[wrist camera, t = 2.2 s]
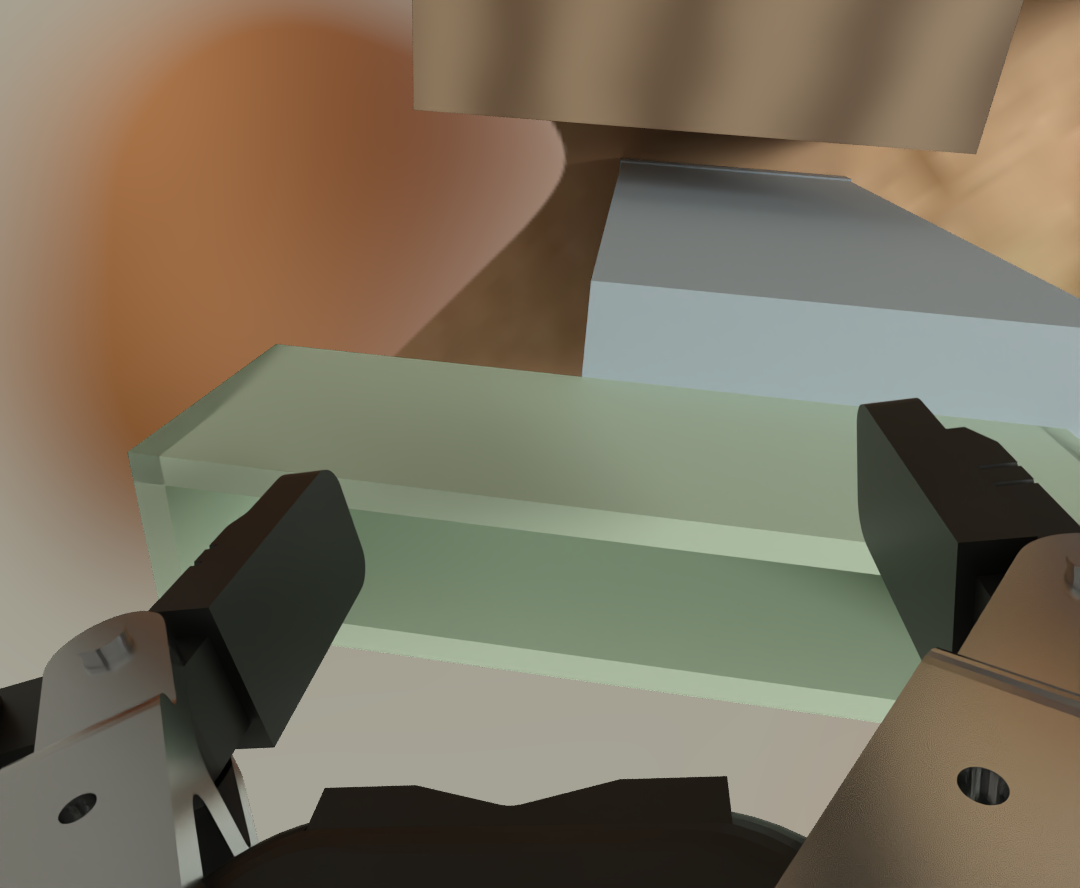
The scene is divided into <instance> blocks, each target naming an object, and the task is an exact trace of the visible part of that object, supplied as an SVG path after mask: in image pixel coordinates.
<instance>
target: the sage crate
mask: <svg viewBox="0 0 1080 888" xmlns="http://www.w3.org/2000/svg"><path fill="white" fill-rule="evenodd" d="M858 408H859V407H858V406H849V405H840V404H830V403H821V402H812V401H802V400H793V399H784V398H774V397H765V396H756V395H747V394H737V393H728V392H719V391H709V390H700V389H691V388H681V387H672V386H663V385H653V384H644V383H635V382H625V381H616V380H607V379H597V378H588V377H579V376H569V375H560V374H551V373H542V372H532V371H523V370H514V369H504V368H495V367H486V366H476V365H467V364H458V363H448V362H439V361H430V360H420V359H411V358H402V357H392V356H383V355H374V354H364V353H355V352H346V351H336V350H326V349H318V348H309V347H299V346H290V345H281V344H276V345H274V346H273V347H271V348H270V349H269V350H267V351H266V352H264V353H263V354H262V355H260V356H259V357H258V358H256V359H255V360H254V361H252V362H251V363H249V364H248V365H247V366H245V367H244V368H243V369H241V370H240V371H238V372H237V373H236V374H234V375H233V376H232V377H230V378H229V379H227V380H226V381H225V382H223V383H222V384H221V385H219V386H218V387H217V388H215V389H214V390H212V391H211V392H210V393H208V394H207V395H205V396H204V397H203V398H202V399H200V400H199V401H197V402H196V403H194V404H193V405H192V406H191V407H189V408H188V409H186V410H185V411H184V412H182V413H181V414H179V415H178V416H177V417H175V418H174V419H172V420H171V421H170V422H169V423H167V424H166V425H164V426H163V427H161V428H160V429H159V430H157V431H156V432H155V433H153V434H152V435H151V436H149V437H148V438H146V439H145V440H144V441H142V442H141V443H140V444H138V445H137V446H135V447H134V448H133V449H131V450H130V451H129V452H128V457H129V462H130V467H131V471H132V477H133V481H134V486H135V491H136V495H137V500H138V505H139V510H140V514H141V519H142V524H143V529H144V533H145V538H146V543H147V548H148V552H149V557H150V561H151V567H152V571H153V576H154V580H155V585H156V590H157V595H158V600H159V599H160V598H161V597H162V596H163V594H164V593H165V592H166V591H167V590H168V589H169V588H170V587H171V586H172V585H173V584H174V583H175V582H176V581H177V579H178V578H179V577H180V576H181V575H182V574H183V573H184V572H185V571H186V570H187V569H188V568H189V567H190V566H194V561H195V560H196V559H197V558H198V557H199V556H200V555H201V554H202V553H203V551H204V550H205V549H209V548H210V547H209V545H210V544H211V543H212V542H213V541H214V540H215V539H216V537H217V536H218V535H219V534H220V533H221V532H222V531H223V530H224V529H225V528H226V527H227V526H228V525H229V524H231V523H232V522H234V521H235V520H237V519H238V518H240V517H241V516H243V515H244V514H246V513H247V512H248V511H249V510H250V509H251V508H252V506H253V505H254V504H255V503H256V502H257V501H258V500H259V499H260V498H261V497H262V496H263V494H264V493H265V492H266V491H267V490H268V489H269V488H270V487H271V486H272V485H273V483H274V482H275V481H276V480H277V479H278V478H279V477H280V476H282V475H285V474H293V473H302V472H310V471H318V470H330V471H331V472H333V473H334V474H335V476H336V477H337V479H338V481H339V483H340V485H341V488H342V491H343V494H344V497H345V500H346V503H347V505H348V508H349V511H350V514H351V517H352V520H353V523H354V526H355V529H356V531H357V534H358V537H359V540H360V543H361V546H362V549H363V552H364V557H365V579H364V584H363V587H362V589H361V591H360V593H359V595H358V596H357V598H356V600H355V602H354V604H353V606H352V607H351V609H350V611H349V613H348V615H347V616H346V618H345V620H344V622H343V624H342V625H341V627H340V629H339V631H338V633H337V635H336V636H335V638H334V640H333V642H332V644H331V645H333V646H340V647H347V648H354V649H361V650H368V651H375V652H382V653H389V654H397V655H403V656H410V657H418V658H425V659H432V660H439V661H446V662H453V663H460V664H467V665H475V666H481V667H489V668H496V669H503V670H510V671H517V672H524V673H531V674H538V675H545V676H552V677H559V678H566V679H574V680H581V681H587V682H594V683H602V684H609V685H616V686H623V687H630V688H637V689H644V690H652V691H658V692H665V693H672V694H680V695H686V696H694V697H701V698H709V699H715V700H722V701H729V702H736V703H744V704H750V705H758V706H764V707H772V708H779V709H786V710H793V711H801V712H807V713H814V714H821V715H828V716H835V717H842V718H849V719H856V720H864V721H871V722H878V723H882V721H883V719H884V718H885V716H886V715H887V713H888V712H889V710H890V709H891V707H892V706H893V704H894V702H895V701H896V699H897V698H898V696H899V695H900V693H901V692H902V690H903V689H904V687H905V685H906V684H907V682H908V681H909V679H910V678H911V676H912V675H913V673H914V672H915V670H916V668H917V667H918V665H919V664H920V662H921V661H922V660H921V658H920V656H919V654H918V652H917V650H916V648H915V646H914V644H913V642H912V640H911V637H910V635H909V633H908V631H907V629H906V627H905V625H904V623H903V621H902V619H901V616H900V614H899V612H898V610H897V608H896V606H895V604H894V602H893V600H892V598H891V596H890V593H889V591H888V589H887V587H886V585H885V583H884V581H883V579H882V577H881V575H880V573H879V570H878V568H877V566H876V564H875V562H874V560H873V558H872V556H871V554H870V552H869V550H868V547H867V545H866V543H865V540H864V537H863V533H862V529H861V525H860V519H859V512H858V490H857V412H858ZM934 416H935V417H936V418H937V419H938V420H939V422H940V423H941V424H942V425H943V426H944V427H945V428H946V429H949V428H958V427H966V428H968V429H971V430H973V431H975V432H977V433H979V434H982V435H984V436H986V437H988V438H991V439H993V440H995V441H997V442H999V443H1000V444H1001V445H1002V446H1003V448H1004V449H1005V450H1006V451H1007V452H1008V453H1009V454H1010V455H1011V456H1012V457H1013V458H1014V459H1015V460H1016V461H1017V464H1018V466H1022V467H1023V468H1024V469H1025V470H1026V471H1027V472H1028V473H1029V474H1030V475H1031V476H1032V477H1033V478H1034V483H1039V484H1040V485H1041V486H1042V487H1043V489H1044V490H1045V491H1046V492H1047V493H1048V494H1049V495H1050V496H1051V497H1052V498H1053V499H1054V500H1055V501H1056V502H1057V503H1058V504H1059V505H1060V506H1061V507H1062V508H1063V509H1064V510H1065V511H1066V512H1067V513H1068V514H1069V515H1070V516H1071V517H1072V518H1073V519H1074V520H1075V521H1076V522H1077V523H1078V524H1079V525H1080V440H1079V439H1078V438H1077V437H1076V436H1074V435H1073V434H1072V433H1071V432H1070V431H1068V430H1067V429H1063V428H1054V427H1045V426H1035V425H1026V424H1017V423H1007V422H998V421H989V420H979V419H970V418H961V417H952V416H942V415H934Z"/></svg>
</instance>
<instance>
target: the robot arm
mask: <svg viewBox="0 0 1080 888" xmlns="http://www.w3.org/2000/svg"><path fill="white" fill-rule="evenodd" d="M857 490H858V512H859V519H860V525H861V529H862V533H863V537H864V540H865V543H866V545H867V547H868V550H869V552H870V554H871V556H872V558H873V560H874V562H875V564H876V566H877V568H878V570H879V573H880V575H881V577H882V579H883V581H884V583H885V585H886V587H887V589H888V591H889V593H890V596H891V598H892V600H893V602H894V604H895V606H896V608H897V610H898V612H899V614H900V616H901V619H902V621H903V623H904V625H905V627H906V629H907V631H908V633H909V635H910V637H911V640H912V642H913V644H914V646H915V648H916V650H917V652H918V654H919V656H920V658H921V660H922V661H921V662H920V664H919V665H918V667H917V668H916V670H915V672H914V673H913V675H912V676H911V678H910V679H909V681H908V682H907V684H906V685H905V687H904V689H903V690H902V692H901V693H900V695H899V696H898V698H897V699H896V701H895V702H894V704H893V706H892V707H891V709H890V710H889V712H888V713H887V715H886V716H885V718H884V719H883V721H882V723H881V724H880V726H879V727H878V729H877V730H876V732H875V733H874V735H873V737H872V738H871V740H870V741H869V743H868V744H867V746H866V748H865V749H864V750H863V752H862V754H861V755H860V757H859V758H858V760H857V761H856V763H855V764H854V766H853V768H852V769H851V771H850V772H849V774H848V775H847V777H846V778H845V780H844V782H843V783H842V784H841V786H840V788H839V789H838V791H837V792H836V794H835V795H834V797H833V798H832V800H831V801H830V803H829V805H828V806H827V808H826V809H825V811H824V812H823V814H822V815H821V817H820V819H819V820H818V822H817V823H816V825H815V826H814V828H813V829H812V831H811V833H810V834H809V836H808V837H807V838H806V837H804V836H802V835H800V834H797V833H795V832H793V831H791V830H789V829H787V828H784V827H782V826H780V825H777V824H774V823H771V822H768V821H765V820H762V819H759V818H756V817H752V816H748V815H744V814H739V813H735V812H731V806H730V798H729V789H728V782H727V776H722V777H687V778H652V779H620V780H616V781H612V782H608V783H604V784H600V785H596V786H592V787H589V788H584V789H580V790H576V791H572V792H569V793H564V794H561V795H557V796H553V797H549V798H545V799H541V800H537V801H534V802H529V803H525V804H521V805H515V806H505V805H498V804H494V803H490V802H486V801H481V800H477V799H473V798H468V797H464V796H459V795H455V794H451V793H447V792H442V791H438V790H434V789H429V788H425V787H421V786H416V785H411V786H381V787H380V786H378V787H344V788H325V789H324V791H323V793H322V796H321V798H320V800H319V802H318V804H317V807H316V809H315V811H314V813H313V816H312V818H311V820H310V822H309V823H307V824H304V825H301V826H298V827H295V828H292V829H289V830H287V831H284V832H281V833H279V834H277V835H274V836H272V837H270V838H268V839H266V840H264V841H262V842H260V843H259V841H258V837H257V833H256V829H255V825H254V821H253V818H252V813H251V809H250V805H249V801H248V797H247V793H246V789H245V784H244V780H243V776H242V774H241V771H240V769H239V767H238V765H237V763H236V761H235V759H234V757H233V755H232V754H233V752H234V750H235V749H248V748H270V747H275V745H276V743H277V741H278V740H279V738H280V736H281V734H282V732H283V731H284V729H285V727H286V725H287V723H288V721H289V720H290V718H291V716H292V714H293V712H294V711H295V709H296V707H297V705H298V703H299V702H300V700H301V698H302V696H303V694H304V692H305V691H306V689H307V687H308V685H309V683H310V681H311V680H312V678H313V676H314V674H315V673H316V671H317V669H318V667H319V665H320V664H321V662H322V660H323V658H324V656H325V654H326V653H327V651H328V649H329V647H330V645H331V644H332V642H333V640H334V638H335V636H336V635H337V633H338V631H339V629H340V627H341V625H342V624H343V622H344V620H345V618H346V616H347V615H348V613H349V611H350V609H351V607H352V606H353V604H354V602H355V600H356V598H357V596H358V595H359V593H360V591H361V589H362V587H363V584H364V579H365V557H364V552H363V549H362V546H361V543H360V540H359V537H358V534H357V531H356V529H355V526H354V523H353V520H352V517H351V514H350V511H349V508H348V505H347V503H346V500H345V497H344V494H343V491H342V488H341V485H340V483H339V481H338V479H337V477H336V476H335V474H334V473H333V472H331V471H330V470H318V471H310V472H302V473H293V474H285V475H282V476H280V477H279V478H278V479H277V480H276V481H275V482H274V483H273V485H272V486H271V487H270V488H269V489H268V490H267V491H266V492H265V493H264V494H263V496H262V497H261V498H260V499H259V500H258V501H257V502H256V503H255V504H254V505H253V506H252V508H251V509H250V510H249V511H248V512H247V513H246V514H244V515H243V516H241V517H240V518H238V519H237V520H235V521H234V522H232V523H231V524H229V525H228V526H227V527H226V528H225V529H224V530H223V531H222V532H221V533H220V534H219V535H218V536H217V537H216V539H215V540H214V541H213V542H212V543H211V544H210V545H209V547H210V548H209V549H205V550H204V551H203V553H202V554H201V555H200V556H199V557H198V558H197V559H196V560H195V561H194V566H190V567H189V568H188V569H187V570H186V571H185V572H184V573H183V574H182V575H181V576H180V577H179V578H178V579H177V581H176V582H175V583H174V584H173V585H172V586H171V587H170V588H169V589H168V590H167V591H166V592H165V593H164V594H163V596H162V597H161V598H160V599H159V600H158V601H157V602H156V603H155V604H154V605H153V606H152V607H151V608H150V610H149V611H137V612H131V613H127V614H122V615H119V616H116V617H113V618H110V619H108V620H105V621H103V622H101V623H99V624H97V625H95V626H93V627H91V628H89V629H87V630H85V631H84V632H82V633H80V634H79V635H77V636H76V637H75V638H73V639H72V640H70V641H69V642H68V643H66V644H65V645H64V646H63V647H62V648H60V649H59V650H58V651H57V652H56V653H55V655H53V657H52V658H51V660H50V661H49V662H48V664H47V665H46V667H45V670H44V674H43V677H40V678H36V679H33V680H29V681H26V682H22V683H19V684H15V685H12V686H8V687H5V688H1V689H0V888H1080V525H1079V524H1078V523H1077V522H1076V521H1075V520H1074V519H1073V518H1072V517H1071V516H1070V515H1069V514H1068V513H1067V512H1066V511H1065V510H1064V509H1063V508H1062V507H1061V506H1060V505H1059V504H1058V503H1057V502H1056V501H1055V500H1054V499H1053V498H1052V497H1051V496H1050V495H1049V494H1048V493H1047V492H1046V491H1045V490H1044V489H1043V487H1042V486H1041V485H1040V484H1039V483H1034V478H1033V477H1032V476H1031V475H1030V474H1029V473H1028V472H1027V471H1026V470H1025V469H1024V468H1023V467H1022V466H1018V464H1017V461H1016V460H1015V459H1014V458H1013V457H1012V456H1011V455H1010V454H1009V453H1008V452H1007V451H1006V450H1005V449H1004V448H1003V446H1002V445H1001V444H1000V443H999V442H997V441H995V440H993V439H991V438H988V437H986V436H984V435H982V434H979V433H977V432H975V431H973V430H971V429H968V428H966V427H958V428H949V429H946V428H945V427H944V426H943V425H942V424H941V423H940V422H939V420H938V419H937V418H936V417H935V416H934V415H933V413H932V412H931V411H930V410H929V409H928V408H927V406H926V405H925V404H924V403H923V402H922V401H921V400H920V399H919V398H909V399H901V400H893V401H884V402H876V403H868V404H861V405H860V406H859V408H858V412H857Z"/></svg>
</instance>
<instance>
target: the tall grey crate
mask: <svg viewBox="0 0 1080 888" xmlns="http://www.w3.org/2000/svg"><path fill="white" fill-rule="evenodd" d="M582 377H588V378H597V379H607V380H616V381H625V382H635V383H644V384H653V385H663V386H672V387H681V388H691V389H700V390H709V391H719V392H728V393H737V394H747V395H756V396H765V397H774V398H784V399H793V400H802V401H812V402H821V403H830V404H840V405H849V406H858V407H859V406H860V405H861V404H868V403H876V402H884V401H893V400H901V399H909V398H919V399H920V400H921V401H922V402H923V403H924V404H925V405H926V406H927V408H928V409H929V410H930V411H931V412H932V413H933V415H942V416H952V417H961V418H970V419H979V420H989V421H998V422H1007V423H1017V424H1026V425H1035V426H1045V427H1054V428H1063V429H1067V430H1068V431H1070V432H1071V433H1072V434H1073V435H1074V436H1076V437H1077V438H1078V439H1079V440H1080V299H1079V298H1077V297H1075V296H1073V295H1071V294H1069V293H1067V292H1065V291H1064V290H1062V289H1060V288H1058V287H1056V286H1054V285H1052V284H1050V283H1048V282H1046V281H1044V280H1042V279H1040V278H1038V277H1036V276H1034V275H1032V274H1030V273H1028V272H1026V271H1024V270H1022V269H1020V268H1019V267H1017V266H1015V265H1013V264H1011V263H1009V262H1007V261H1005V260H1003V259H1001V258H999V257H997V256H995V255H993V254H991V253H989V252H987V251H985V250H983V249H981V248H979V247H977V246H975V245H973V244H972V243H970V242H968V241H966V240H964V239H962V238H960V237H958V236H956V235H954V234H952V233H950V232H948V231H946V230H944V229H942V228H940V227H938V226H936V225H934V224H932V223H930V222H928V221H926V220H925V219H923V218H921V217H919V216H917V215H915V214H913V213H911V212H909V211H907V210H905V209H903V208H901V207H899V206H897V205H895V204H893V203H891V202H889V201H887V200H885V199H883V198H881V197H880V196H878V195H876V194H874V193H872V192H870V191H868V190H866V189H864V188H862V187H860V186H858V185H856V184H854V183H852V182H851V179H849V178H847V177H845V176H835V175H823V174H811V173H798V172H786V171H774V170H762V169H750V168H738V167H726V166H713V165H701V164H689V163H677V162H665V161H653V160H641V159H629V158H621V160H620V168H619V175H618V178H617V182H616V186H615V190H614V194H613V198H612V202H611V206H610V209H609V213H608V217H607V221H606V225H605V229H604V233H603V236H602V240H601V244H600V248H599V252H598V256H597V260H596V264H595V267H594V271H593V275H592V279H591V287H590V297H589V307H588V318H587V328H586V338H585V348H584V359H583V369H582Z"/></svg>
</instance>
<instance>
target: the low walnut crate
mask: <svg viewBox="0 0 1080 888" xmlns="http://www.w3.org/2000/svg"><path fill="white" fill-rule="evenodd" d="M1023 1H1024V0H412V10H413V11H412V14H413V15H412V16H413V108H414V110H424V111H436V112H448V113H461V114H474V115H486V116H499V117H512V118H524V119H536V120H549V121H562V122H574V123H587V124H600V125H612V126H625V127H638V128H650V129H663V130H676V131H688V132H701V133H714V134H726V135H739V136H752V137H764V138H777V139H790V140H802V141H815V142H828V143H840V144H853V145H866V146H878V147H891V148H904V149H916V150H929V151H942V152H954V153H967V154H976V153H977V149H978V146H979V143H980V140H981V136H982V133H983V130H984V127H985V124H986V120H987V117H988V114H989V111H990V107H991V104H992V101H993V98H994V95H995V91H996V88H997V85H998V82H999V78H1000V75H1001V72H1002V69H1003V66H1004V62H1005V59H1006V56H1007V53H1008V49H1009V46H1010V43H1011V40H1012V37H1013V33H1014V30H1015V27H1016V24H1017V20H1018V17H1019V14H1020V11H1021V8H1022V4H1023Z"/></svg>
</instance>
